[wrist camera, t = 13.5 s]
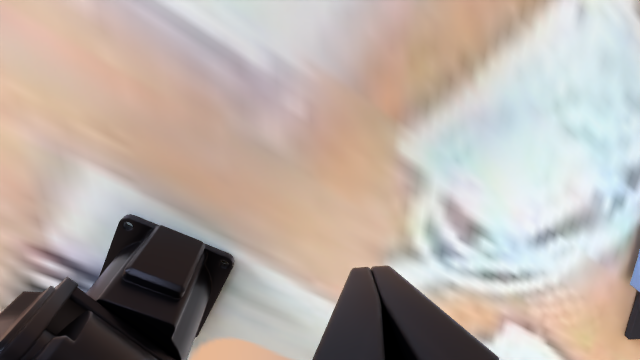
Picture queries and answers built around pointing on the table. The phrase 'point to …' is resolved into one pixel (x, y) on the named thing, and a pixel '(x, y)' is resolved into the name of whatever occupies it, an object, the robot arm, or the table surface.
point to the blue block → (636, 275)
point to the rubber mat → (634, 320)
